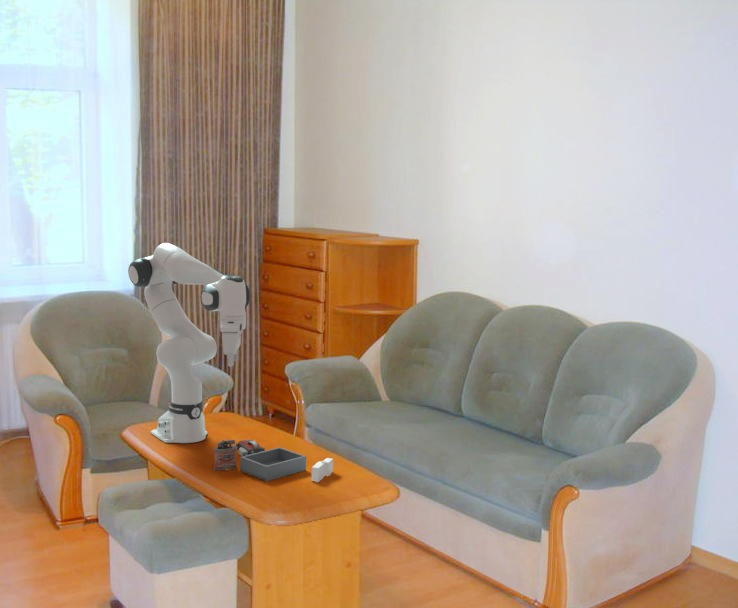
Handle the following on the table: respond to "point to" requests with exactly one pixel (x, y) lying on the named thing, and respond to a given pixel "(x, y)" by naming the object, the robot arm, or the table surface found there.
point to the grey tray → (272, 463)
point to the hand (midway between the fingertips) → (232, 363)
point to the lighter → (225, 455)
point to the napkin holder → (322, 469)
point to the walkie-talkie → (249, 447)
